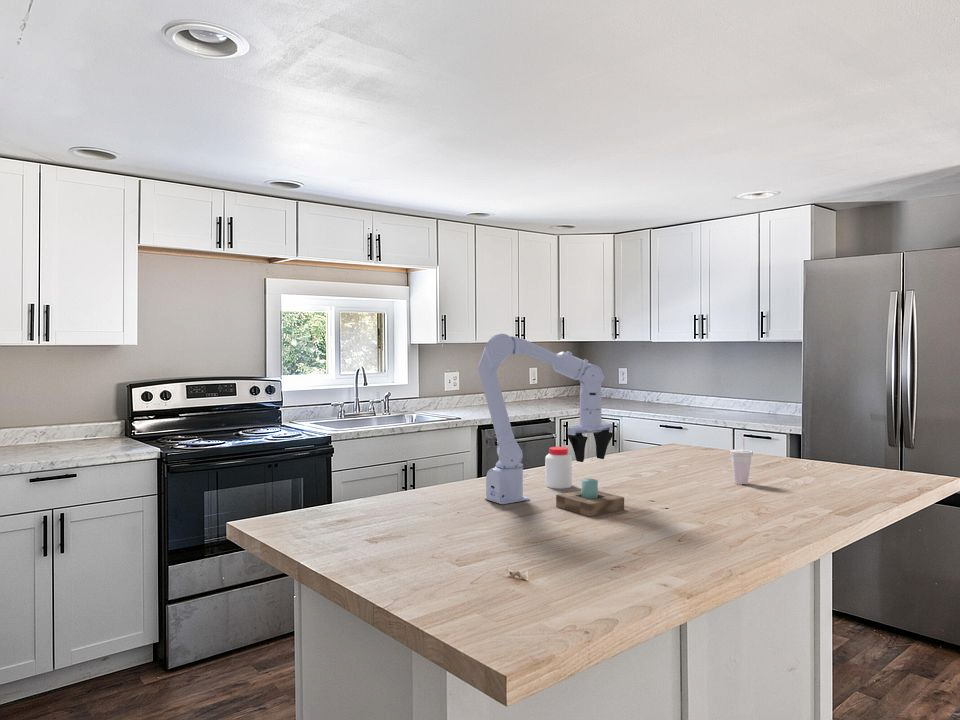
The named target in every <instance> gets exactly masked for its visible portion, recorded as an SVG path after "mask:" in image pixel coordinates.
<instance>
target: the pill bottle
mask: <svg viewBox="0 0 960 720" xmlns="http://www.w3.org/2000/svg"><path fill="white" fill-rule="evenodd" d="M544 458H545V459H544V462H545V464H544V486H545V487H546V488H550V489H561V490H562V489H571V488H572V486H573V473H572V472H573V457H572V455H570V454H569V448H568V447H565V446H551V447H549V448H548V454H546V455H545V457H544Z"/></svg>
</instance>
